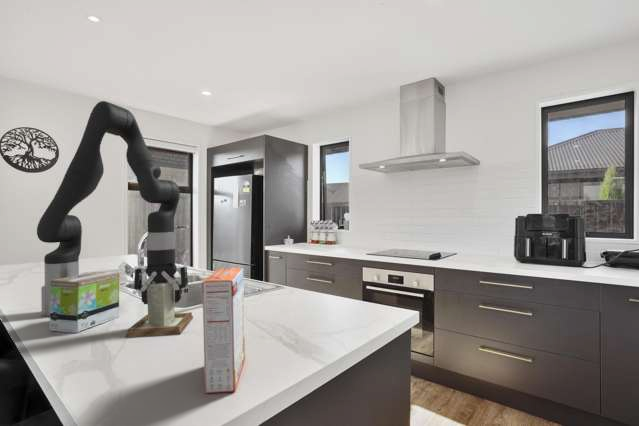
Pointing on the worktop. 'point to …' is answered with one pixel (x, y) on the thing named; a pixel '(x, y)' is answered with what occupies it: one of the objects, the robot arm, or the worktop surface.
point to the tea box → (83, 301)
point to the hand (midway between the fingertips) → (161, 302)
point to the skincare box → (160, 304)
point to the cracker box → (223, 329)
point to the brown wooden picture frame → (151, 330)
